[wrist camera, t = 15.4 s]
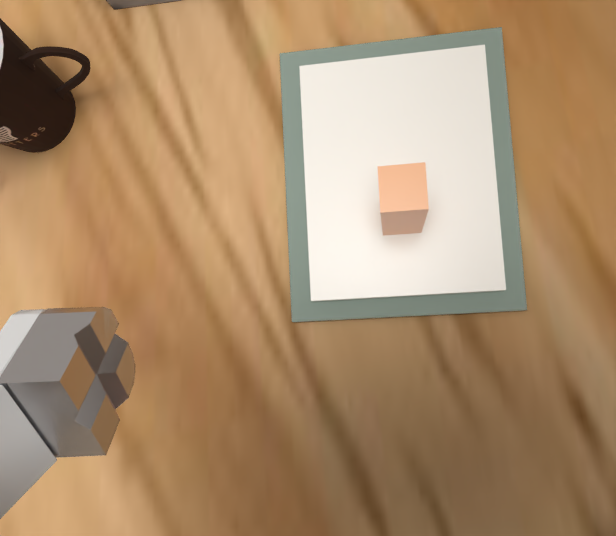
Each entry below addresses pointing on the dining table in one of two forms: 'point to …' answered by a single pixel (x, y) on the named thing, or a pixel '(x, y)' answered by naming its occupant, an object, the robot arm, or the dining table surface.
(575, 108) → the dining table surface
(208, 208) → the dining table surface
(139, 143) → the dining table surface
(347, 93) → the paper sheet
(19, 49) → the coffee mug
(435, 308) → the mat
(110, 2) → the tub
